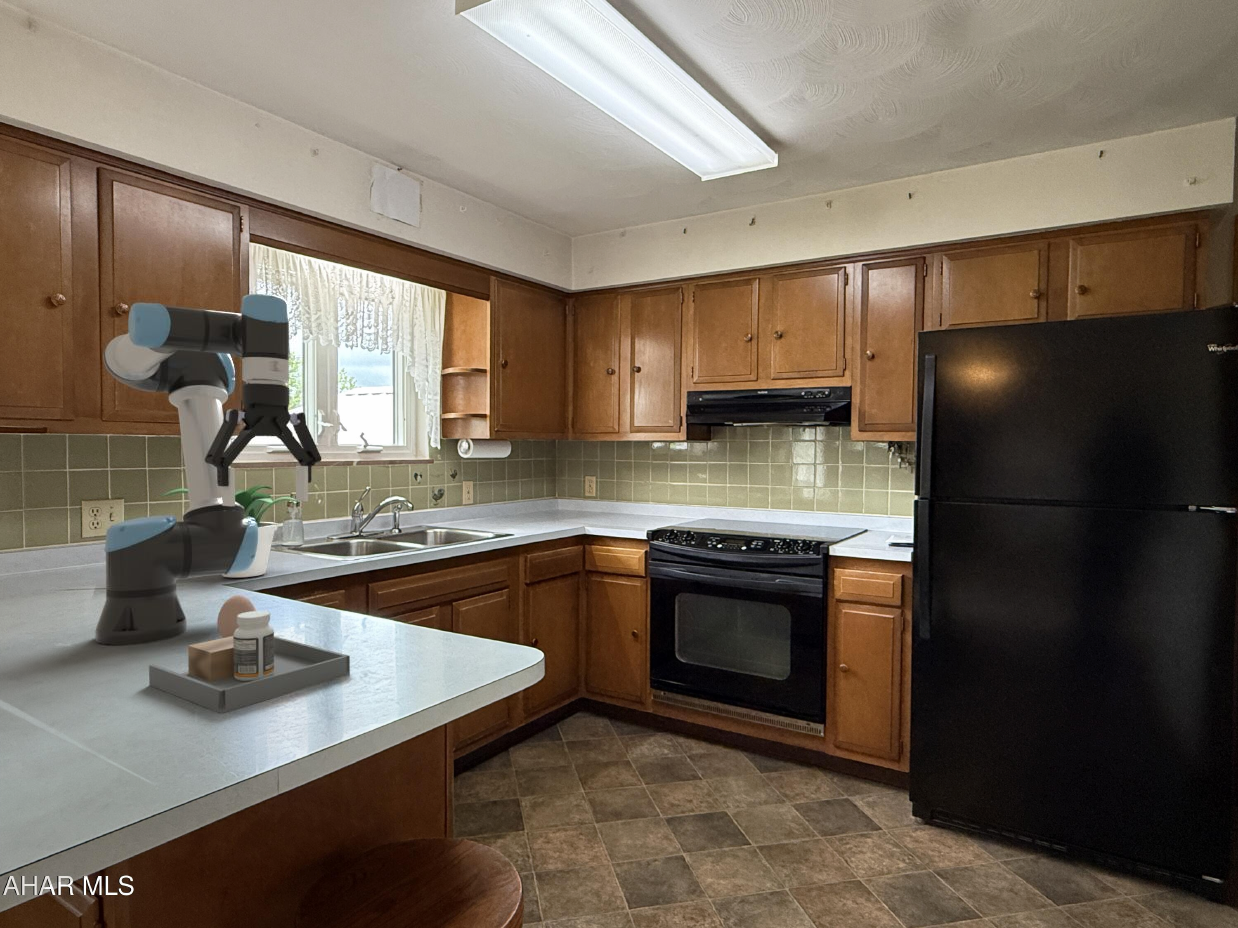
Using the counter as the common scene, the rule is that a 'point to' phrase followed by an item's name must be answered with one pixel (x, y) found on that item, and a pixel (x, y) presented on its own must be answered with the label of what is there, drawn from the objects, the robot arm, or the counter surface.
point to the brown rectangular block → (212, 659)
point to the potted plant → (265, 529)
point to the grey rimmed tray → (291, 673)
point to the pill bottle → (253, 646)
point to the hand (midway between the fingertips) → (266, 503)
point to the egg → (232, 614)
